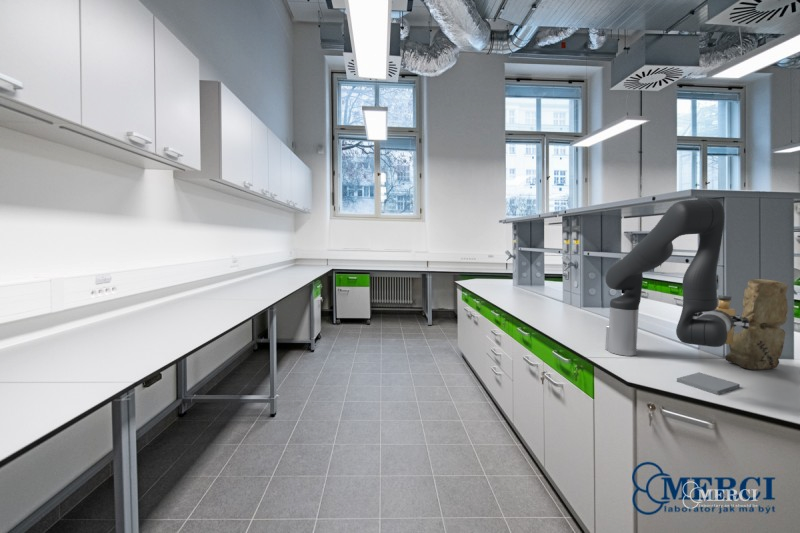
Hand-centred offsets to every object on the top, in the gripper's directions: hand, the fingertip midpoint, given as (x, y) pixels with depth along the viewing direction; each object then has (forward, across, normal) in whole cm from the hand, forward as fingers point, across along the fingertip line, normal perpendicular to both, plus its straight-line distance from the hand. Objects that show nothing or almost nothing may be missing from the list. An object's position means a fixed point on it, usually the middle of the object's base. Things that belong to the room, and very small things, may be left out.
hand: (724, 316), depth 116 cm
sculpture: (+11, -7, +18) cm, 22 cm away
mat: (-21, 0, +18) cm, 27 cm away
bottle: (-3, 0, +8) cm, 8 cm away
